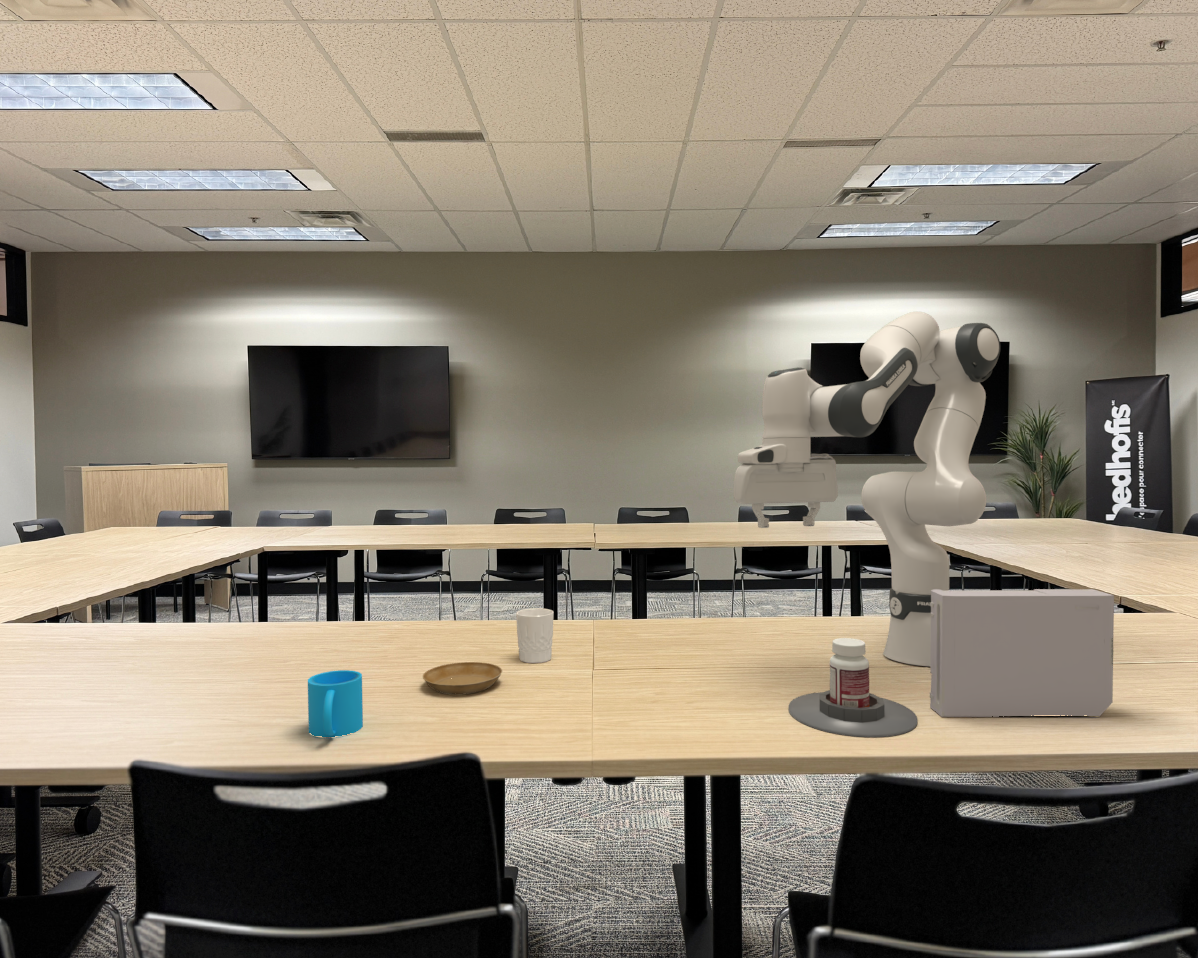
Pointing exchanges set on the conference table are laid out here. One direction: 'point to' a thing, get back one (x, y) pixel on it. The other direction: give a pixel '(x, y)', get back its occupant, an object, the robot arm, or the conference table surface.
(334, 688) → the mug
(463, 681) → the plant saucer
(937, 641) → the game console
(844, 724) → the round tray
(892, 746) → the conference table surface
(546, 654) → the white cup
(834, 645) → the pill bottle
